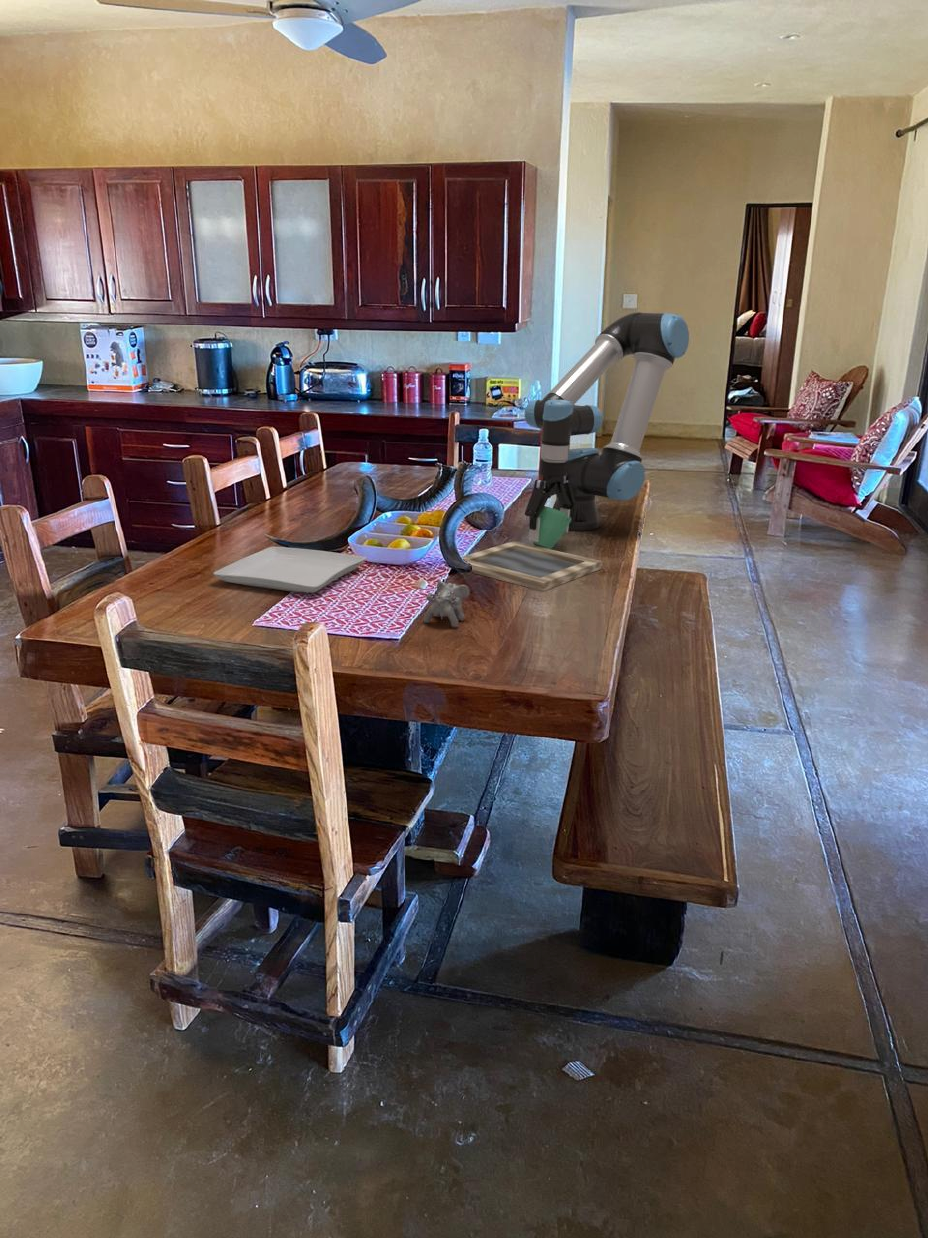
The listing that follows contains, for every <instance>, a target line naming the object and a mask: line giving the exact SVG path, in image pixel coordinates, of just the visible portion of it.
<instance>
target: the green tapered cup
mask: <svg viewBox="0 0 928 1238" xmlns="http://www.w3.org/2000/svg"><path fill="white" fill-rule="evenodd" d="M538 518H540V530H539V542H534V541H532V543H533V546H537V547H542V548H546V549H550V550H552V549H553V548H554V546H556V544H557V542H559V540H560V539H561V538H562V536H563V535H564V533H565V530H566V529H567V527H568V525H569V524H570V522H571V517H569V518H568V519H567V520H566V518H567V514H565V513H563V512H561V511H559V510H556V509H553V507H549V506H547V505H546V506H545V505H544V507H543V509H542V511H541V513H540V515H539V517H538Z"/></svg>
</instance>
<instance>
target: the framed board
mask: <svg viewBox="0 0 928 1238" xmlns="http://www.w3.org/2000/svg"><path fill="white" fill-rule="evenodd" d="M461 557H462V558H463V559H464V560H465V561H467V562H468V563H470V564H471V565H472V572H473V573H472V572H471V573H472V574H476V575H479V576H484V577H487V578H492V579H495V580H499V581H503V582H507V583H510V584H513V585H514V584H515V585H518V586H521V587H526V588H529V589H534V590H537V591H541V592H545V591H548V590H550V589H553V588H555V587H558V586H561V585H564V584H565V583H568V582H571V581H573V580H576V579H579V578H582V577H584V576H587V575H589V574H592V573H594V572H597V571H599V570H602V567H603V561H602V560H597V559H595V558H594V559H593V558H590V557H585V556H581V555H578V554H572V553H567V552H563V551H559V550H555V549H551V550H550V549H546V548H542V547H537V546H535V545H532V544H528V543H524V542H523V543H522V542H519V541H515V540H513V541H509V542H506V543H503V544H499V545H496V546H493V547H490V548H486V549H484V550H480V551H476V552H473V553H471V554H466V555H463V556H461ZM476 561H477V562H476Z"/></svg>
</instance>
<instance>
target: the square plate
mask: <svg viewBox="0 0 928 1238" xmlns="http://www.w3.org/2000/svg"><path fill="white" fill-rule="evenodd" d="M366 560H367V556H362V555H354V554H347V553H341V552H333V551H327V550H326V551H325V550H317V549H307V548H299V547H298V548H297V547H286V546H285V547H284V546H276V545H275V546H270V547H267V548H264V549H262V550H260V551H258V552H256V553H253V554H251V555H248V556H246V557H243V558H241V559H238V560H236V561H235V562H232V563H230V564H228V565H225V566H223V567H222V568H220V569H218V570H216V571H214V572H213V573H212V574H213V575H214V576H215V577H217V578H218V579H220V580H222V581H223V582H227V583H231V584H238V585H244V586H249V587H257V588H265V589H272V590H278V591H279V590H280V591H284V592H285V591H287V592H294V593H310V594H313V593H316V592H318V591H320V590H322V589H323V588H325V587H326V586H328V585H330V584H331V583H333V582H334V580H335V581H336V580H338V579H339V577H340V578H341V577H343V576H345V575H347V574H349V573H350V572H352V571H354V570H356V569H357V568H358V567H360V566H361V565H362V564H363V563H364V562H365V561H366ZM344 574H345V575H344ZM332 581H333V582H332Z"/></svg>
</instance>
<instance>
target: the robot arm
mask: <svg viewBox="0 0 928 1238" xmlns="http://www.w3.org/2000/svg"><path fill="white" fill-rule="evenodd" d="M689 344H690V331H689V327H688V324H687V322H686V320H685V319H684V318H683V317H682V316H681V315H679V314H673V313H670V312H665V313H662V312H661V313H659V312H657V313H656V312H631V313H628V314H626V315H624V316H621V317H620V318H618V319H617V320H615V321H613V322H612V323H611V324H609V325H608V326H606V327H605V328H604V330H602V331H601V333H600V334H599V335H597V336H596V338H595V340H594V345H592V347H591V348H590V349H589V350H588V351H586V353H585V354H584V355H583V356H582V357H581V359H579V360H578V361H577V362H576V363H575V365H573V367H571V369H570V370H569V371H568V372H567V373H566V374H565V375H564V376H563V377H562V379H561V380H559V381H558V383H556V385H555V386H554V387H553V388H552V389H551V390H550V391H549V392H548V393H547V394H546V395H545V396H544V397H543V398H542V400H541V399H533V400H530V401H529V402H528V403H527V405H526V407H525V409H524V419H525V422H526V424H527V425H528V426H529V427H533V428H537V429H540V430H542V431H541V432H542V434H541V435H542V436H541V447H540V449H541V450H540V459H541V460H540V462H539V475H541V476H542V480H539V479H535V481H534V485H533V489H532V492H531V495H530V497H529V499H528V503H527V504H526V505H527V506H526V509H525V512H524V515H525V516H526V517H529V531H528V541H531V542H533V541H534V542H539V530H540V518H538V517H539V515H540V513H541V511H542V509H543V507H544V506H545V505H546V504H547V502H548V500H549V499H550V498H551V497H552V496H554V495H556V497H555V501H554V503H553V506H552V508H553V509H556V510H559V511H561V512H563V513H565V514H567V518H566V520H567V519H568V518H569V517H571V522H570V524H569V525H568V527H567V529H566V530H565V532H564V533H569V531H576V532H579V531H582V532H583V531H591V530H595V529H598V528H599V527H600V518H599V517H600V516H599V513H598V509H597V505H596V496H597V497H602V498H607V499H610V500H613V501H622V502H624V501H629V500H631V499H633V498H634V497H636V496H637V495H638V493H640V491H641V489H642V488H643V486H644V483H645V478H646V474H645V472H646V469H645V468H646V467H645V466H644V465H643V464H642V461H643V457H642V455H641V453H640V451H641V447H642V445H643V440H644V439H645V438H644V437H645V435H646V432H647V428H648V425H649V422H650V419H651V415H652V413H653V410H654V407H655V404H656V401H657V397H658V394H659V392H660V388H661V385H662V382H663V379H664V375H665V372H666V371H668V370H670V369H671V368H673V366H674V362H675V359H680V358H682V357H683V356H684V355H685V354H686V352H687V351H688V347H689ZM629 355H632V358H633V359H634V362H635V365H634V369H633V372H632V375H631V378H630V381H629V383H628V387H627V390H626V394H625V396H624V400H623V403H622V406H621V409H620V412H619V415H618V418H617V422H616V424H615V426H614V427H615V428H614V430H613V434H612V437H611V440H610V442H609V443H608V444H606V445H604V446H603V447H602V451H601V454H600V451H599V448H593V447H586V448H585V447H583V448H582V447H580V448H570V447H571V437H572V436H580V435H581V436H583V435H587V436H588V435H591V434H594V433H597V432H598V431H600V429H601V428H602V426H603V420H604V419H603V413H602V410H601V409H599V407H598V406H595V405H588V404H585V405H576V403H577V402H578V401H579V400H580V399H581V398H582V397H583V396H584V395H585V394H586V393H587V392H588V391H589V390H590V388H592V387H593V385H594V384H595V383H596V382H597V381H598V380H600V378H601V377H602V375H604V374H605V373H606V372H607V370H608V369H609V368H610V367H611V366H612V365H613V364H614V363H616V364H617V363H619V362H621V360H622V359H623V358H624V357H626V356H629Z"/></svg>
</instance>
